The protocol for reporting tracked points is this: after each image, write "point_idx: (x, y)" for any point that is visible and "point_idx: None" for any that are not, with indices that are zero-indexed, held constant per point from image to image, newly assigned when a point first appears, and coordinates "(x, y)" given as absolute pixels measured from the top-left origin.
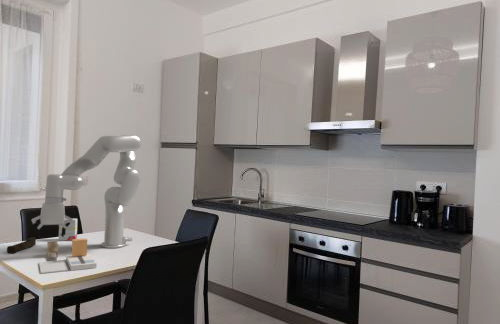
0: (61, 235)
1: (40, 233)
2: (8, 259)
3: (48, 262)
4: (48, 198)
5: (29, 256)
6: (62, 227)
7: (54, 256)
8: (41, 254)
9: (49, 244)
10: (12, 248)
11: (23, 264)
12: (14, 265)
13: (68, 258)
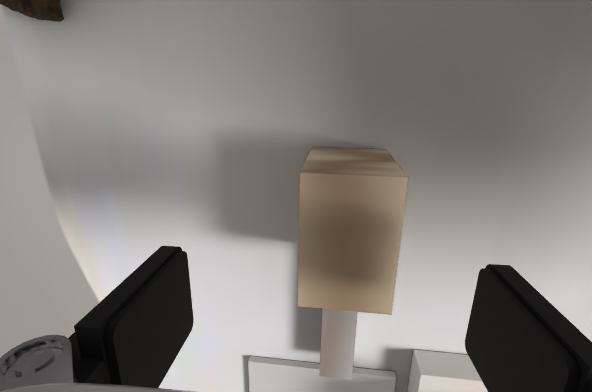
0: (480, 277)
1: (162, 373)
2: (70, 194)
3: (298, 388)
4: None
5: (189, 165)
6: (590, 371)
7: (338, 367)
8: (271, 135)
9: (307, 306)
10: (11, 7)
11: None
12: None
13: None
